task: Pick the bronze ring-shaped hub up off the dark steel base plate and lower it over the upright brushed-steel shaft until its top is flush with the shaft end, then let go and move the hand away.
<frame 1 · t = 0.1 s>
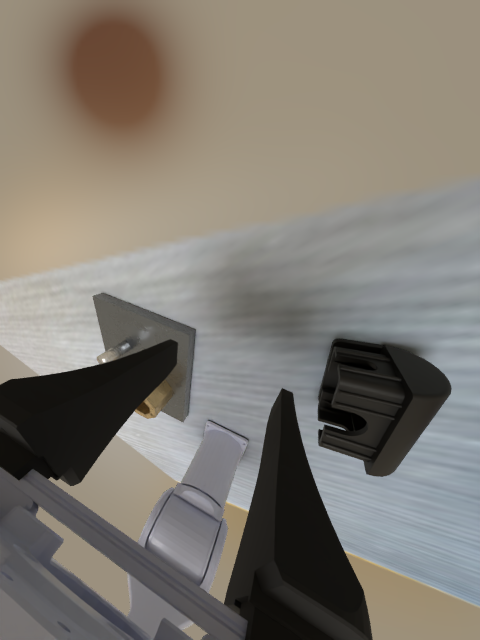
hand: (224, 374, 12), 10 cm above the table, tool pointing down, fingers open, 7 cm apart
end cap: (360, 377, 20), on the table
shaft stand: (150, 361, 31), on the table
bronze hub: (159, 386, 31), point 1 cm above the table, touching shaft stand
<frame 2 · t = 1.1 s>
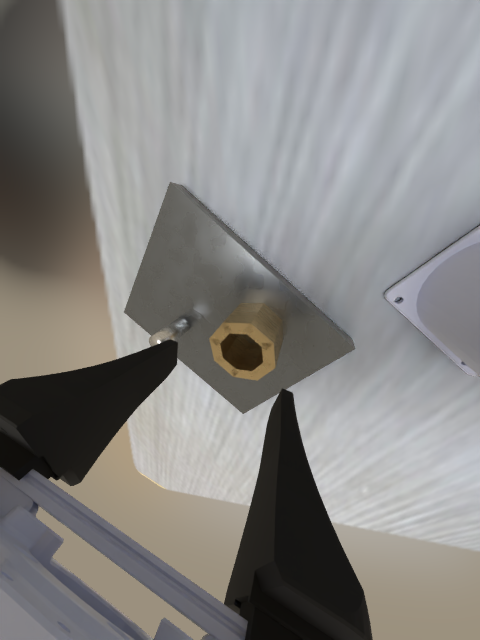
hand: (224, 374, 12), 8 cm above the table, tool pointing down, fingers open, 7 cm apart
shaft stand: (221, 320, 20), on the table
bronze hub: (254, 328, 18), point 1 cm above the table, touching shaft stand
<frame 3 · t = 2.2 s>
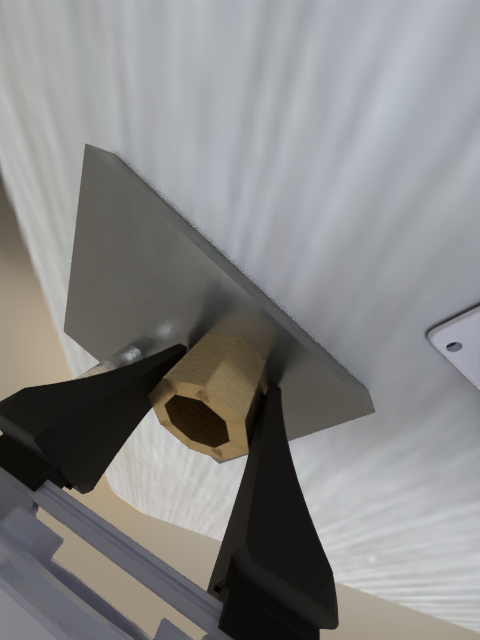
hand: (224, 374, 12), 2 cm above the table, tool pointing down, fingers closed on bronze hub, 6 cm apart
shaft stand: (187, 349, 15), on the table
bronze hub: (228, 368, 12), point 1 cm above the table, touching gripper, shaft stand
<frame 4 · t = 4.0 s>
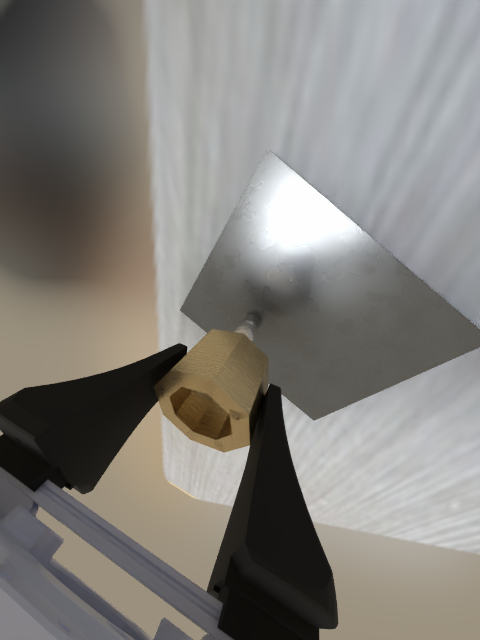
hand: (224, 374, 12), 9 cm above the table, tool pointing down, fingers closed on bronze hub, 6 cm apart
shaft stand: (298, 315, 18), on the table
bronze hub: (230, 364, 13), point 8 cm above the table, touching gripper
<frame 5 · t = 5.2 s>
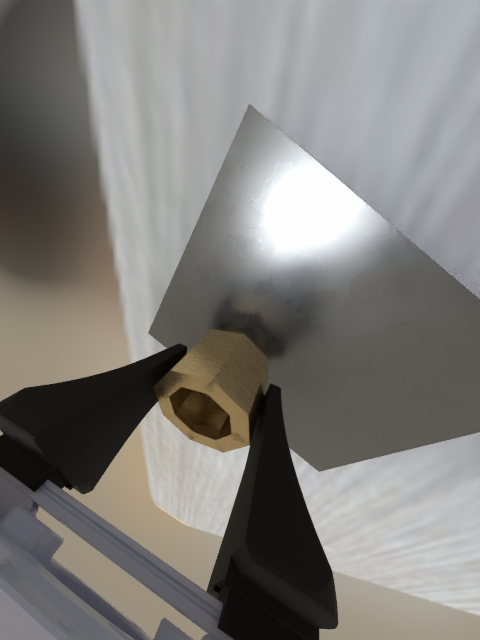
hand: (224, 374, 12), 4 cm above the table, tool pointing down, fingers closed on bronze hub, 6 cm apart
shaft stand: (298, 343, 14), on the table
bronze hub: (230, 364, 13), point 3 cm above the table, touching gripper
when the fingers open (3 cm above the table, at t = 6.1 s): bronze hub stays where it is, resting on shaft stand.
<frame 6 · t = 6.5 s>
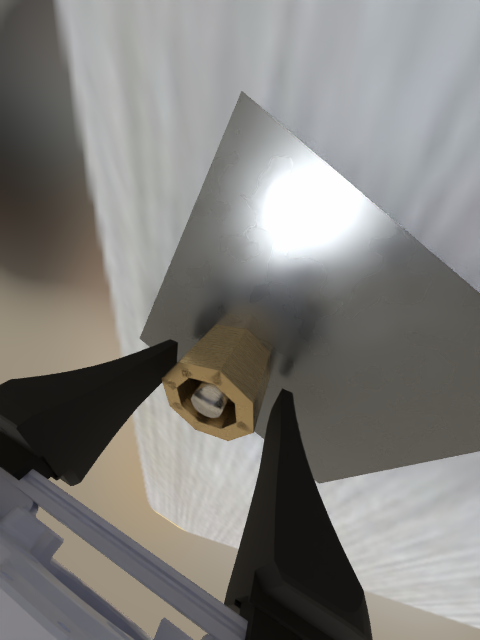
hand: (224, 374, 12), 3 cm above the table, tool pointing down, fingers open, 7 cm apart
shaft stand: (297, 350, 13), on the table
bronze hub: (233, 358, 13), point 1 cm above the table, touching shaft stand
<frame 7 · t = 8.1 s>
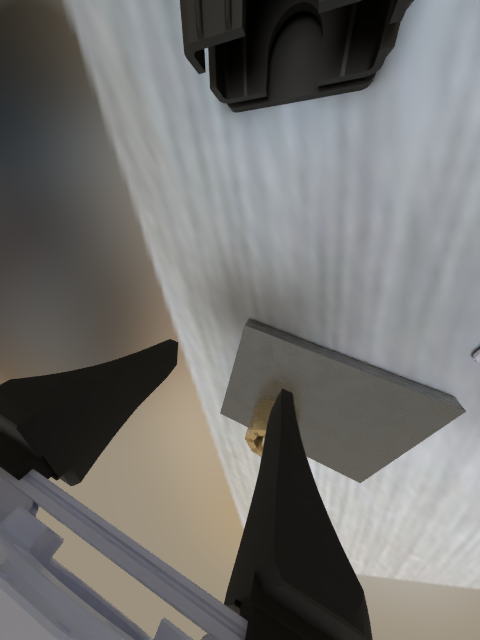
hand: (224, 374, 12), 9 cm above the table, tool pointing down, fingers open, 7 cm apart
end cap: (302, 17, 11), on the table
shaft stand: (309, 402, 23), on the table
bronze hub: (275, 415, 23), point 1 cm above the table, touching shaft stand
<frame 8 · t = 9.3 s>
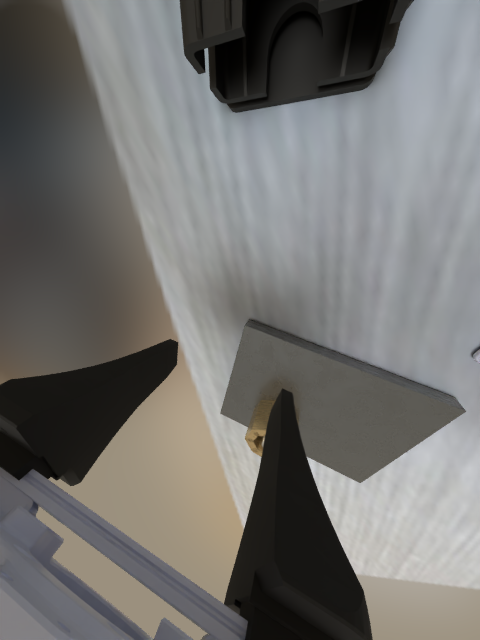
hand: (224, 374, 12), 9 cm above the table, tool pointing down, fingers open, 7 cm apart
end cap: (302, 17, 11), on the table
shaft stand: (309, 402, 23), on the table
bronze hub: (275, 415, 23), point 1 cm above the table, touching shaft stand
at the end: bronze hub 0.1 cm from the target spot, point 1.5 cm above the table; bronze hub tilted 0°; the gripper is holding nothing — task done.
